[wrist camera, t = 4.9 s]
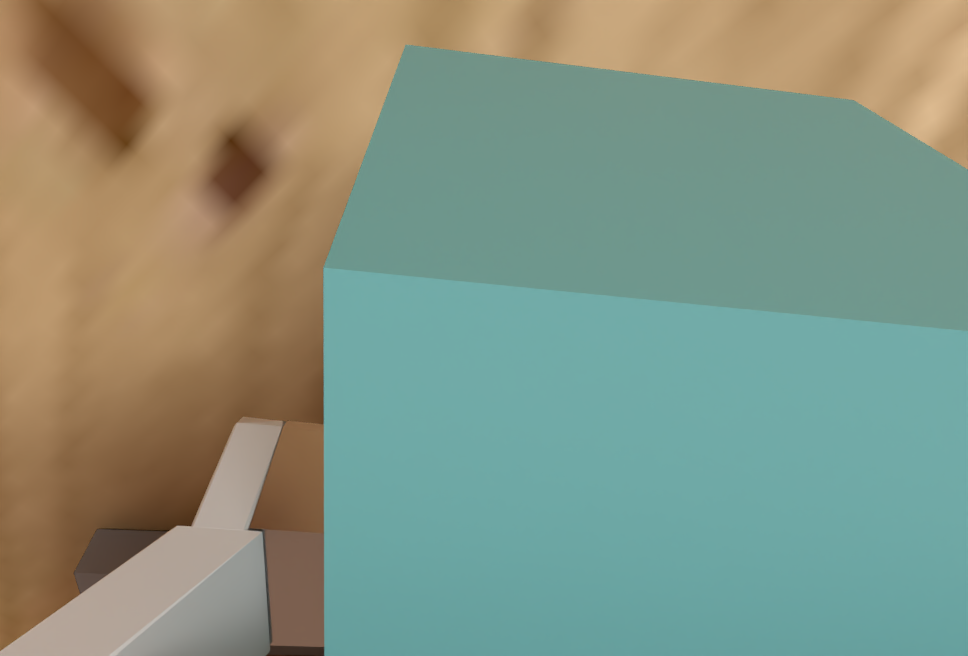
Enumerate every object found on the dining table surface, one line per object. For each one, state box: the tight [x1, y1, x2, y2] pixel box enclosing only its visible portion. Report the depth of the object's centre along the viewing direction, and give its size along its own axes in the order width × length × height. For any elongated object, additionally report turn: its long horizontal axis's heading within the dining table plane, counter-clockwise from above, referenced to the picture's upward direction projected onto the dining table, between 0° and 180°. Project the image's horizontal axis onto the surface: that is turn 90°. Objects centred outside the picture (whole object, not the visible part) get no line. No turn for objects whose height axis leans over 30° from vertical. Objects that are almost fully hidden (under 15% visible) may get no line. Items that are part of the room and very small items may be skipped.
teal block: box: [323, 45, 968, 656], centre depth 8 cm, size 5×9×5 cm, turn 173°
